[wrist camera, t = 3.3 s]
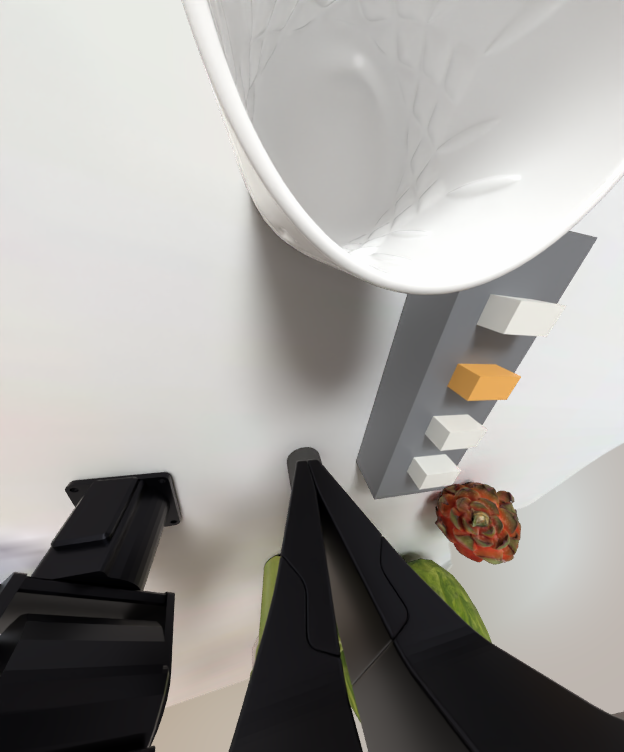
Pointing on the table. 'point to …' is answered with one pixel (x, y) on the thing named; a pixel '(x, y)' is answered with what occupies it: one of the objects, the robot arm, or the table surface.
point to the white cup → (419, 127)
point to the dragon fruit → (479, 522)
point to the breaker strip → (437, 358)
